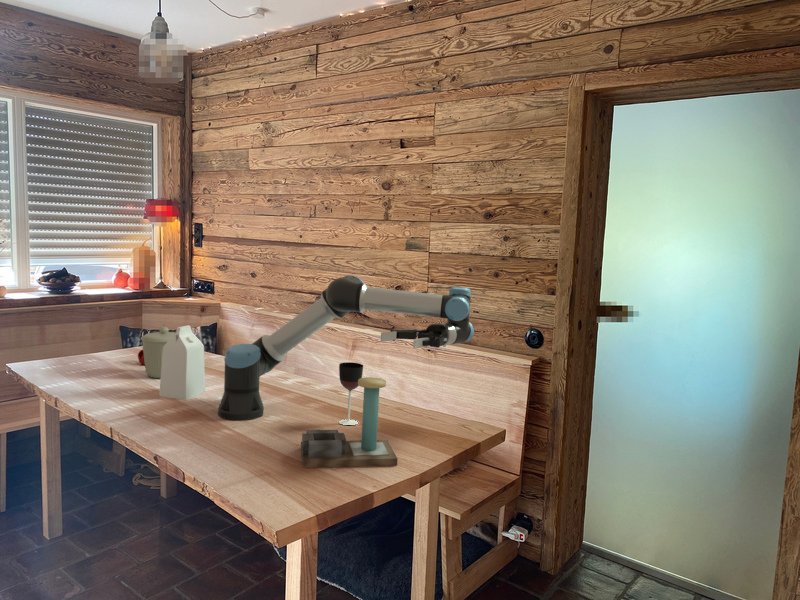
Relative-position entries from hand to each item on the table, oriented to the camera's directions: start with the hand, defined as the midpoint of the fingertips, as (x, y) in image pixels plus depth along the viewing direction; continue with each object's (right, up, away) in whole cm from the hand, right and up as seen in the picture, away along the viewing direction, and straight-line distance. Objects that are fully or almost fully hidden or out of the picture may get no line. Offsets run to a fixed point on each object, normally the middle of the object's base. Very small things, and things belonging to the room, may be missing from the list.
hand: (397, 340), depth 179 cm
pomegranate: (-114, -17, +89) cm, 146 cm away
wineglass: (-17, -30, +19) cm, 39 cm away
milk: (-82, -24, +43) cm, 95 cm away
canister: (-100, -20, +68) cm, 123 cm away
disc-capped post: (-8, -30, -11) cm, 33 cm away
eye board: (-14, -33, -12) cm, 37 cm away
